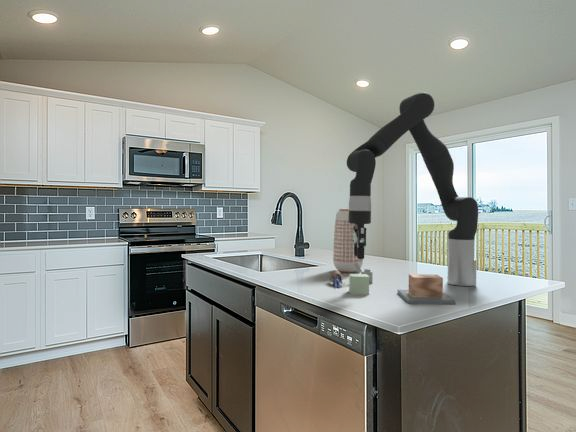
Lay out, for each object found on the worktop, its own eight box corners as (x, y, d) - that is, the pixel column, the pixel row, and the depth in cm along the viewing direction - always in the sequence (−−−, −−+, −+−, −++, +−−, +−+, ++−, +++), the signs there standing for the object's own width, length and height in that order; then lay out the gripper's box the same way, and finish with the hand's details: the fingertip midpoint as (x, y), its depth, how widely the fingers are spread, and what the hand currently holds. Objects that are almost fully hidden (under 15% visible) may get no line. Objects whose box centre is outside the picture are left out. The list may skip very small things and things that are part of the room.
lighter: (372, 282, 149) (372, 262, 149) (372, 283, 148) (372, 262, 148) (353, 281, 151) (354, 261, 151) (353, 282, 150) (353, 261, 150)
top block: (366, 291, 134) (366, 274, 134) (368, 294, 129) (369, 276, 129) (349, 291, 134) (349, 273, 134) (350, 294, 129) (351, 276, 129)
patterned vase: (343, 274, 167) (344, 209, 166) (327, 270, 179) (328, 209, 178) (368, 272, 172) (369, 209, 172) (351, 268, 184) (352, 209, 184)
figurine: (345, 293, 139) (341, 281, 151) (346, 279, 138) (342, 268, 150) (330, 292, 140) (327, 281, 151) (330, 279, 139) (328, 268, 150)
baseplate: (439, 293, 130) (439, 290, 130) (455, 304, 116) (455, 300, 116) (397, 293, 131) (397, 289, 131) (408, 303, 117) (408, 299, 117)
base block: (436, 292, 126) (437, 274, 126) (442, 297, 120) (442, 278, 120) (408, 292, 127) (408, 273, 127) (412, 296, 121) (413, 277, 121)
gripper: (374, 209, 124) (373, 260, 124) (367, 209, 138) (366, 255, 138) (351, 209, 124) (350, 259, 124) (346, 209, 138) (345, 254, 139)
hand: (358, 257), depth 131 cm, fingers open, 8 cm apart
